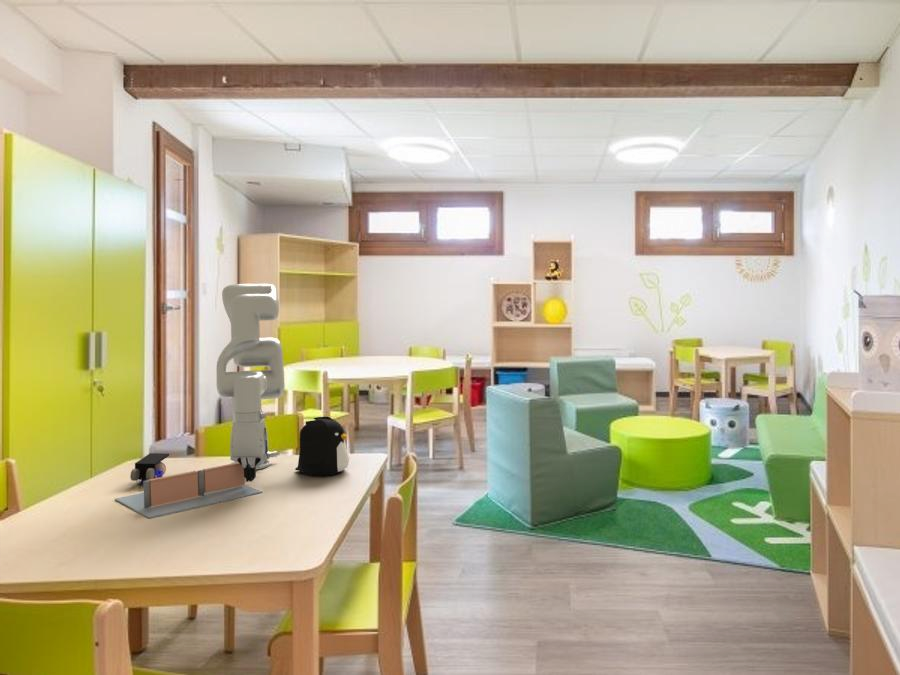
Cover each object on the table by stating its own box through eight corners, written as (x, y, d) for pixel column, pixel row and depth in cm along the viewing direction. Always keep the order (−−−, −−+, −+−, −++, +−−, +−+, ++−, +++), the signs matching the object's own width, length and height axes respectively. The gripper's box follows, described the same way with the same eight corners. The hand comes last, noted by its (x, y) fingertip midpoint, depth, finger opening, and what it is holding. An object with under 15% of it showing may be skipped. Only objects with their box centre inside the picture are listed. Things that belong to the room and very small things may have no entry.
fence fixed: (202, 495, 201) (201, 469, 200) (205, 496, 200) (204, 470, 199) (143, 508, 189) (142, 480, 189) (145, 509, 188) (144, 481, 188)
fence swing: (206, 493, 200) (205, 470, 199) (203, 492, 201) (202, 469, 200) (245, 484, 208) (244, 462, 208) (242, 483, 209) (241, 461, 209)
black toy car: (153, 492, 211) (171, 473, 226) (151, 467, 209) (169, 450, 224) (130, 492, 210) (150, 474, 225) (128, 468, 209) (148, 451, 224)
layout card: (222, 477, 220) (222, 476, 220) (262, 492, 203) (262, 490, 203) (114, 499, 198) (114, 498, 198) (149, 518, 181) (149, 516, 181)
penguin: (339, 480, 215) (338, 423, 214) (283, 478, 218) (282, 422, 217) (357, 466, 233) (356, 413, 232) (305, 464, 236) (304, 412, 235)
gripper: (277, 414, 208) (279, 476, 209) (226, 415, 208) (228, 477, 210) (270, 419, 201) (272, 483, 202) (217, 420, 201) (220, 484, 202)
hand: (250, 480), depth 206 cm, fingers closed
